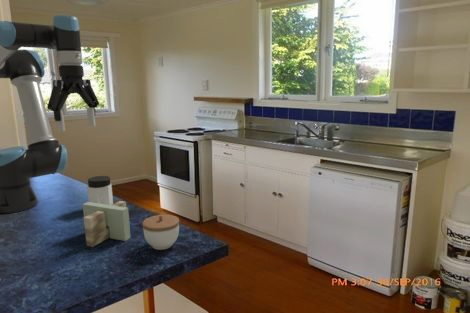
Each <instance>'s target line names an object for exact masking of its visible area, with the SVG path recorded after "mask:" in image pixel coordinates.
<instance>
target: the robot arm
mask: <svg viewBox="0 0 470 313" xmlns="http://www.w3.org/2000/svg"><path fill="white" fill-rule="evenodd" d="M52 18H53V20H52V22H53V23H52V25H51V24H41V23H40V24H38V23H37V24H36V23H25V22H17V21H7V20H0V79H9V80H10V84H12V85H13V87H16V91H17V95H18V98H19V102H20V105H21V109H22V114H23V117H24V120H25V122H24V123H25V125H26V129H27V133H28V136H29V140H30V141H29V142H28V144H27V148H26V147H25V146H23V145H21V146H19V145H18V146H13V147H8V148H7V147H6V148H3V149H0V214H9V213H10V214H11V213H17V212H22V211H25V210H26V211H27V210H29V209H32V208H34V207H35V206H37V205H38V197H37V195H36V193H35V191H34V190H33V188H32V186H31V181H30V179H32V178H38V177H43V176H48V175H55V174H58V173H62V172H64V171H65V169H66V168H67V165H68V159H69V158H68V150H67V148H66V146H65V145H63V144H61V143H59V140H58V139H57V138H55V137H54V136H53V132H52V129H51V128H52V127H51V124H50V120H49V116H48V112H47V110H50V111H52V112H53V116H54V121H55V122H56V123H55V124H56V130H57V132H66V125H65V116H64V110H62V108H63V106H64V104H65V103H66V102H67V99H68V97H69V96H70V95H71V94H77V95H79V97H80V98H81V99H82V100H83V102H84V103H85V105H87V107H86V114H87V115H86V116H87V124H88V126H87V127H96V108H98V106H99V105H100V101H99V100H98V98H97V95H96V94H95V92H94V89H93V87H92V84H91V83H92V82H91V80H90V79H83V77H85V73H84V66H83V65H82V64H83V55H82V46H81V45H82V43H81V42H82V41H81V32H80V30H81V28H80V24H79V19H78V17H76V16H73V15H70V14H69V15H68V14H67V15H66V14H58V15H57V14H56V15H54V16H53V17H52ZM20 48H39V49H40V48H41V49H49V50H56V55H57V56H56V57H57V63H58V64H59V65H58V73H59V78H61V79H53V81H52V88H51V93H50V97H49V101H48V103H47V106H45V102H44V97H43V94H42V90H41V86H40V83H41V82H42V81H43V79H42V78H43V77H44V76H45V64H44V61H43V59H42V57H41V55H40V54H39V53H37V51H35V50H32V49H31V50H28V49H20ZM46 108H47V109H46Z"/></svg>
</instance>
